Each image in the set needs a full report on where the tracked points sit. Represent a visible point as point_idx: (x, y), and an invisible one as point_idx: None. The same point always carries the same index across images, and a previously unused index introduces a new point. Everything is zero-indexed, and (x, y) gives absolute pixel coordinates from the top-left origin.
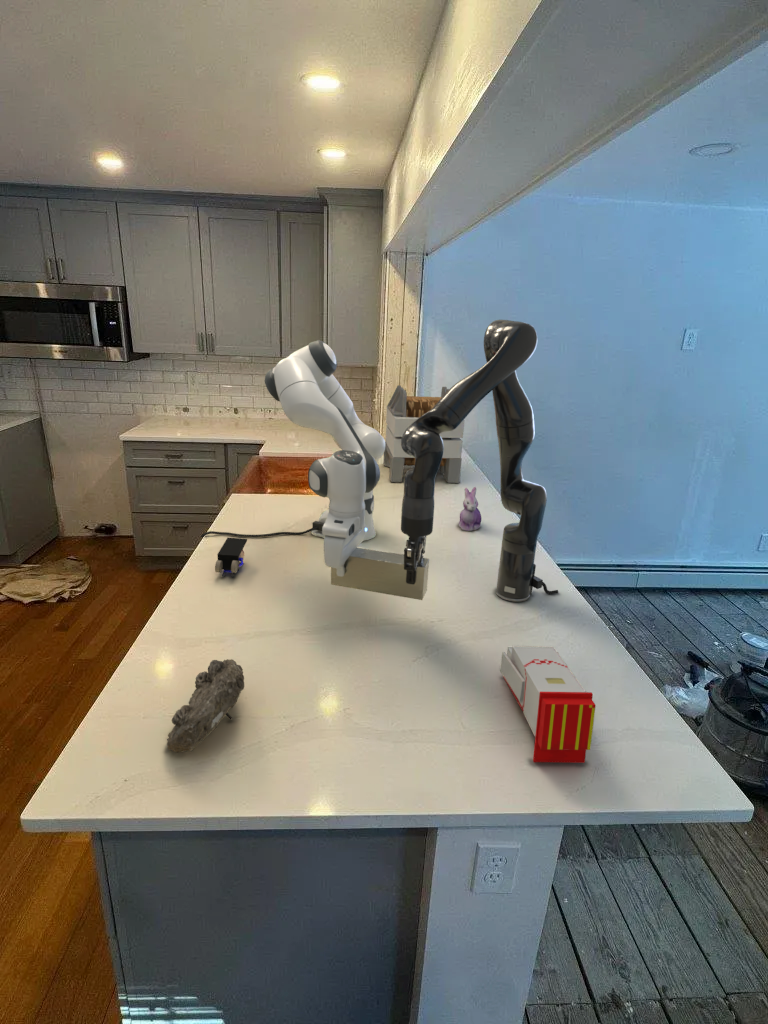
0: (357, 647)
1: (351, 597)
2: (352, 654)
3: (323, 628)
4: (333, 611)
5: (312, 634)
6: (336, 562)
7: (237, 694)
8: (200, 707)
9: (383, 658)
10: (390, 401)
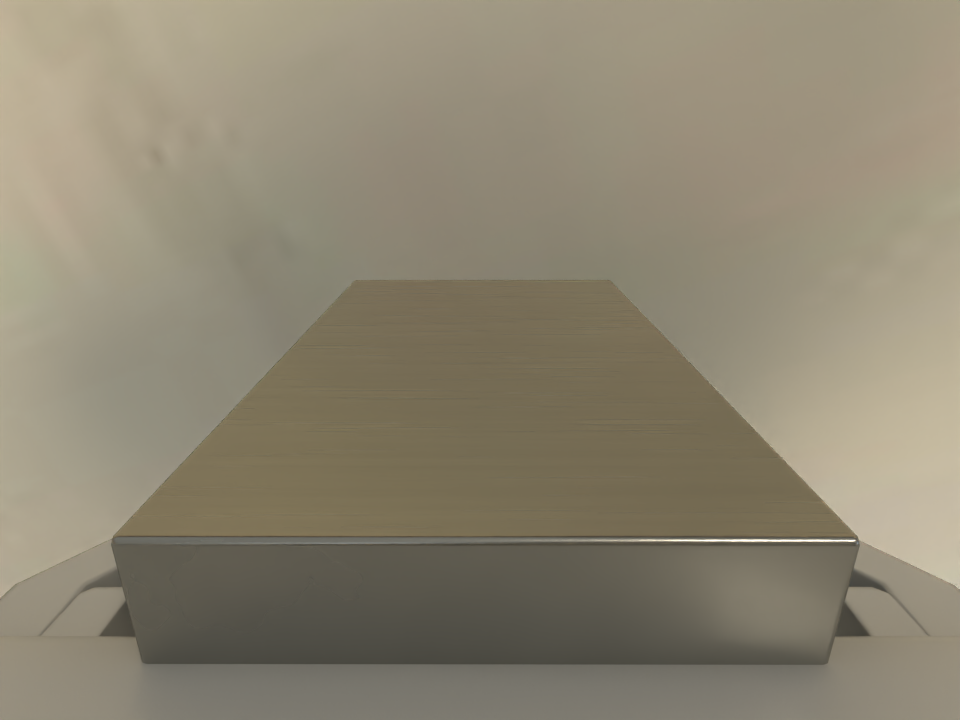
0: (156, 488)
1: (714, 273)
2: (82, 485)
3: (239, 238)
4: (476, 220)
5: (135, 196)
6: None
7: None
8: None
9: None
10: None
